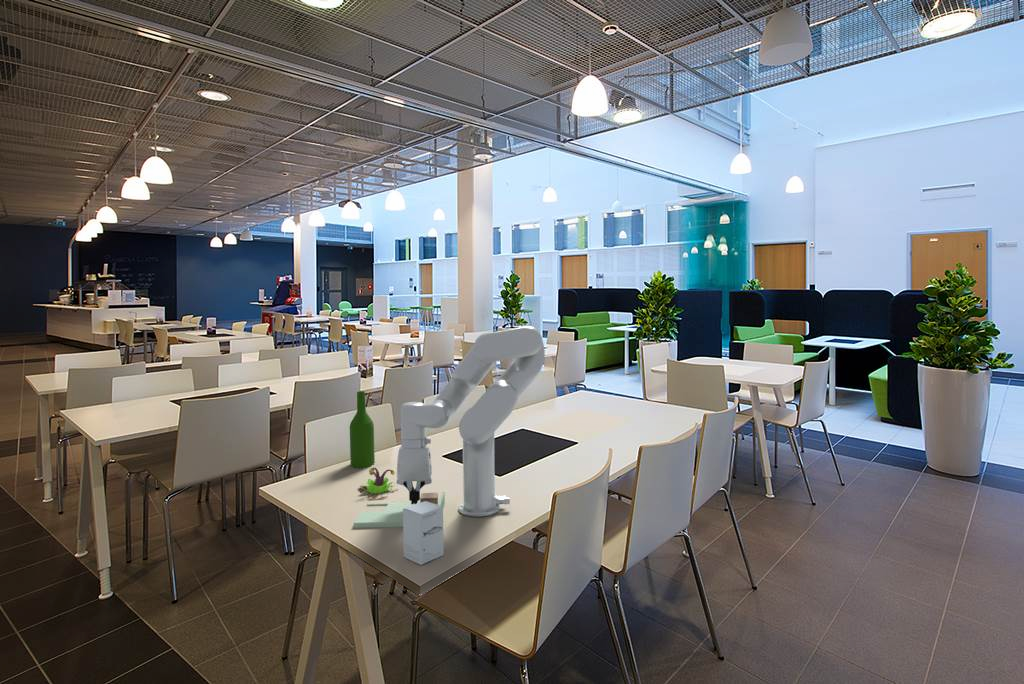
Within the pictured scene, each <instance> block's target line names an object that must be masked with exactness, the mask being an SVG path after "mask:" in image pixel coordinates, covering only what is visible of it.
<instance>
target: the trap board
mask: <svg viewBox="0 0 1024 684" xmlns="http://www.w3.org/2000/svg"><path fill="white" fill-rule="evenodd" d="M445 494H446V493H445V491H443V492H441V493H440V497H439V499H438V505H440V506H443V509H444V507H445V505H446V504H445V503H446V501H445V500H446V498H445V496H446V495H445ZM418 503H420V501H418V502H417V504H418ZM412 505H415V504H411V502H374V503H373V502H370V503H369V502H367V503H366V506H367V507H373V506H376V507H377V506H385V508H384V510H380V511H379V510H378V511H377V510H376V511H375V510H374V511H373V510H372V511H361V512H360V513H359V515H358V516H357V518H356V519H355V520H354V522H353V528H354V529H355V528H357V529H358V528H359V529H360V528H362V529H363V528H396V527H397V528H398V527H399V528H401V527H402V528H403V508H405V507H408V506H412Z"/></svg>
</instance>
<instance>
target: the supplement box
mask: <svg viewBox="0 0 1024 684" xmlns="http://www.w3.org/2000/svg"><path fill="white" fill-rule="evenodd" d="M402 528H403V530H402V534H403V536H402V537H403V558H405V559H406V560H407V559H408V560H409V561H411V562H413V563H416V564H418V565H420V566H423V565H424V564H427V563H428V562H431V561H433V560H435V559H438V558H440V557H442V556H444V551H445V550H444V549H445V548H444V547H445V546H444V539H445V538H444V508H443V506H440V505H437V504H434V503H430V502H427V501H424V502H421V503H418V504H415V505H412V506H408V507H405V508H403V527H402Z"/></svg>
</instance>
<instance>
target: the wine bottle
mask: <svg viewBox="0 0 1024 684" xmlns="http://www.w3.org/2000/svg"><path fill="white" fill-rule="evenodd" d="M374 429H375V425H374V421H373V420H372V418H371V416H370V415H369V414H368V412H367V408H366V391H363V390H362V391H360V390H359V391H357V392H356V413H355V414H354V417H353V419H352V420H351V422H350V424H349V448H350V449H349V450H350V451H349V452H350V454H349V455H350V456H349V457H350V460H349V461H350V467H351V468H354V469H365V468H369V467H373V466H374V465H375V464H374V463H376V461H375V457H376V456H375V430H374ZM372 465H373V466H372Z"/></svg>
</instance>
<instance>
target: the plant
mask: <svg viewBox="0 0 1024 684" xmlns="http://www.w3.org/2000/svg"><path fill="white" fill-rule="evenodd" d="M374 470H375V471H374ZM387 472H390V475H392V476H394V475H395V471H394V470H393V469H389V468H388V469H386V470H384V471H383V473H382V474H381V475H380V472H379V469H378V468H376V467H371V468H370V469H369V470H368V473H369V475H370V476H374V477H375V479H374V480H373V479H370V478H369V479H367V481H365V483H366V484H362V485H360V486H358V487H359V488H357V489H356V490H357V492H359V493H365V492H367V494H362V495H360V497H364V496H367V499H366V500H367V501H368V502H369V501H382V500H383V501H384V500H386V499H388V497H389V496H388V495H387V496H380V497H378V498H370V497H374V494H375V496H377V495H378V494H381V493H382V494H381V495H383V494H386V492H387V493H388V492H389V493H393V494H394V493H395V492H397V491H399V489H398V488H396V489H394V490H389V489H390V487H391V488H392V487H393V484H395V483H394V481H391V482H389V478H388V477H385V476H386V474H387ZM367 484H368V485H367Z"/></svg>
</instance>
